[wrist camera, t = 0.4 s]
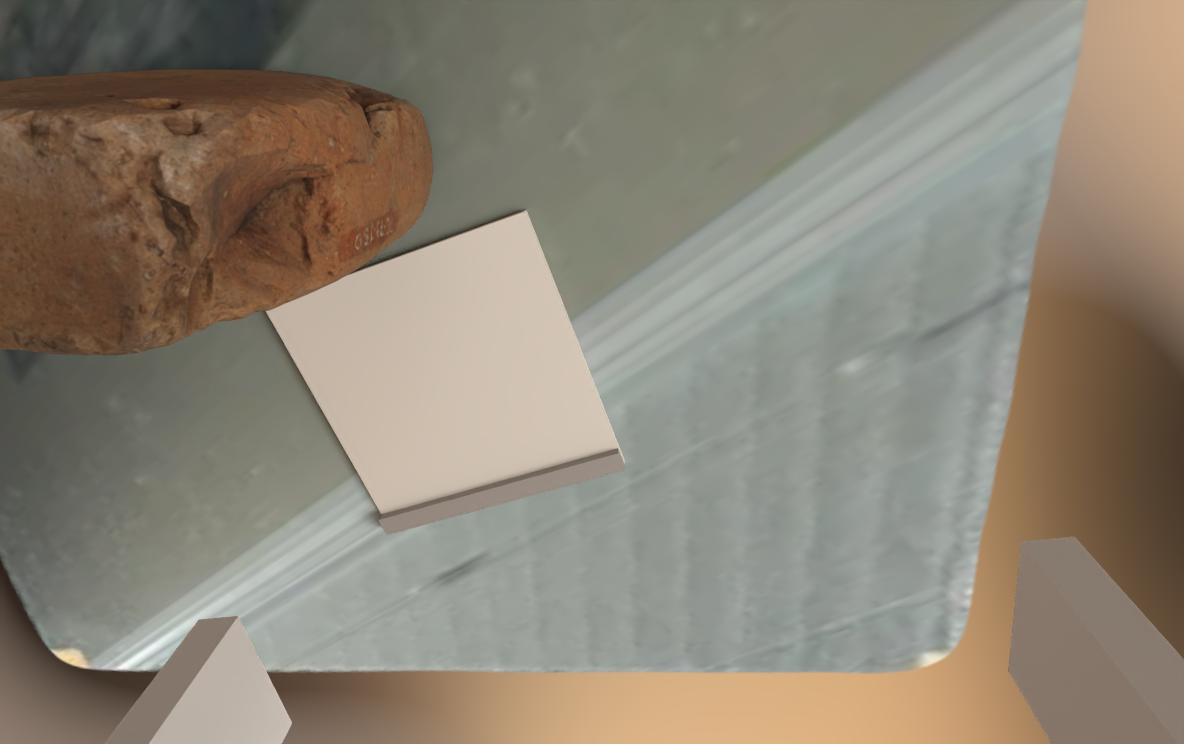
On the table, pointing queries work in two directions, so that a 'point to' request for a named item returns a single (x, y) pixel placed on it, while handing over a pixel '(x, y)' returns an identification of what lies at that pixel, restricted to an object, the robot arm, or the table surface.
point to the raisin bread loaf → (191, 199)
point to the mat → (453, 376)
